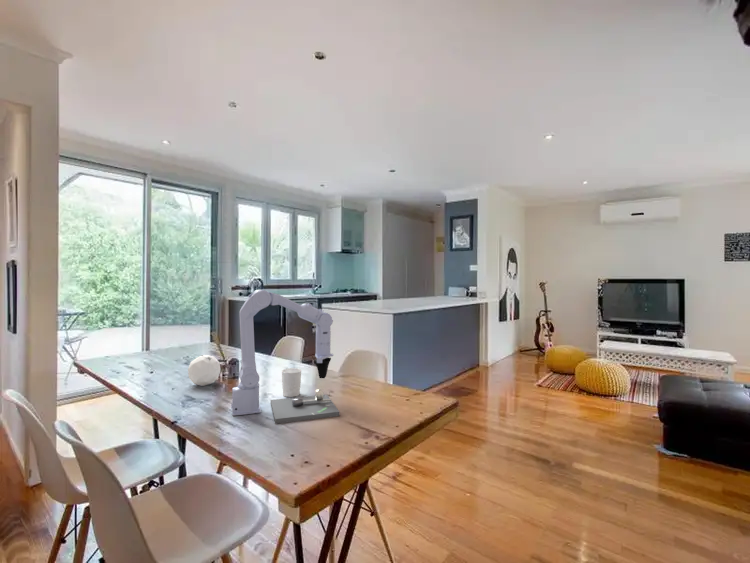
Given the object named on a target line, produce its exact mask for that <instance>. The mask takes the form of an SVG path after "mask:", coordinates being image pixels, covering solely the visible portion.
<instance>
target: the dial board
mask: <svg viewBox="0 0 750 563" xmlns="http://www.w3.org/2000/svg"><path fill="white" fill-rule="evenodd" d="M301 397H302V398H303V400H311V399H315V395H310V396H301ZM293 398H294V397H286V398H279V399H278V398H276V399H270V403H269V404H270V408H271V411H272V412H271V413H272V417H273V421H274V424H282V423H284V424H285V423H291V422H298V421H299V422H301V421H308V420H315V419H316V420H317V419H325V418H326V419H327V418H333V417H335V418H336V417H340V410H339V409H338V407H337V406H336V405H335V403H334V402H333V401H332V400H331V401H327V402H320V403H311V404H303V405H301V406H293V405H292V399H293ZM325 399H331V398H330V396H329V395H328V394H323V400H325Z"/></svg>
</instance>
